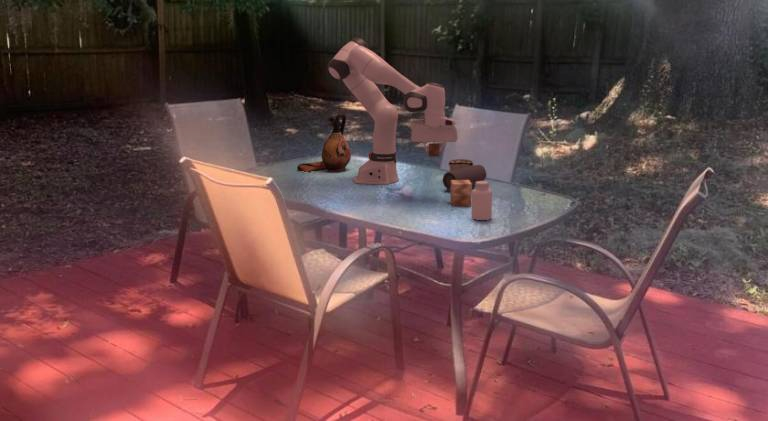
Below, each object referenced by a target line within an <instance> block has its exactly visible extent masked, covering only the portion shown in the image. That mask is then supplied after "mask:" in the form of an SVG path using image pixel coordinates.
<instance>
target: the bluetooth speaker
mask: <svg viewBox="0 0 768 421" xmlns="http://www.w3.org/2000/svg"><path fill="white" fill-rule="evenodd" d="M486 178H487V170H486V168H485V166H483V165H481V164H473V165H472V166H467V167H463V168H459V169H456V170H452V171H450V170H449V171H447V172H446V173H444V174H443V177H442V185H443V187H444V188H445V189H447V190H449V191H451V180H470V182H471V183H472V188H473V187H474V185H475V183H476V182H477V181H486Z"/></svg>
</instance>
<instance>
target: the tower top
mask: <svg viewBox="0 0 768 421" xmlns="http://www.w3.org/2000/svg"><path fill="white" fill-rule="evenodd" d="M472 191H473V187H472V183H471V182H470V180H451V190H450V194H451V193H452V195H453V196H471V197H472Z"/></svg>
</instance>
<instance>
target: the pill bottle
mask: <svg viewBox="0 0 768 421" xmlns="http://www.w3.org/2000/svg"><path fill="white" fill-rule="evenodd" d="M489 184H490V182H488V181H487V180H484V181H477V182H476V183H475V184H474V185H475V188H474V189H473V188H472V196H471V219H472V218H473V219H472V220H474V219H476V220H475V221H477V220H487V221H490V220H491V219H492V211H493V209H492V208H493V205H492V203H493V191H492V190H491V189H490V185H489ZM489 219H490V220H489Z"/></svg>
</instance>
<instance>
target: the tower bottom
mask: <svg viewBox="0 0 768 421" xmlns="http://www.w3.org/2000/svg"><path fill="white" fill-rule="evenodd" d="M450 203H451V207H452V206H458V207H472V196H453V195H452V193H451V192H450Z"/></svg>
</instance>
